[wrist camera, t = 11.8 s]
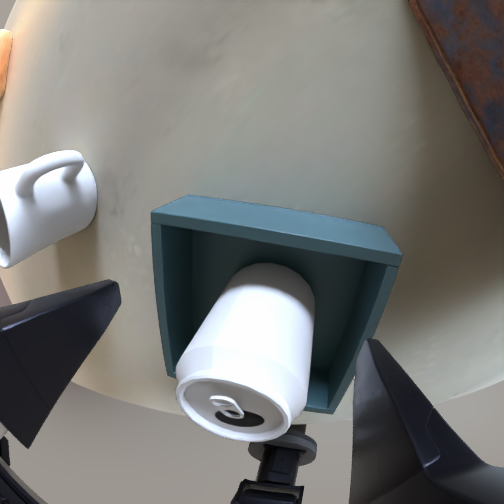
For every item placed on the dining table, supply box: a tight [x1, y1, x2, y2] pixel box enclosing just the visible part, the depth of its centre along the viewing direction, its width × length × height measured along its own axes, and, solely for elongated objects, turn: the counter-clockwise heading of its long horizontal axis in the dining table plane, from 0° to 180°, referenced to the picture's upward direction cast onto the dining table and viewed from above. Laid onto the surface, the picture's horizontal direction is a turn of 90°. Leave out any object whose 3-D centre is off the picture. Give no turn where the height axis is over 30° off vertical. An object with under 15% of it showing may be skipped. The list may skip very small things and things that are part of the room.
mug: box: [0, 151, 97, 268], centre depth 19 cm, size 12×8×11 cm
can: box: [175, 263, 315, 442], centre depth 17 cm, size 8×8×12 cm
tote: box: [151, 195, 403, 414], centre depth 21 cm, size 16×16×6 cm
